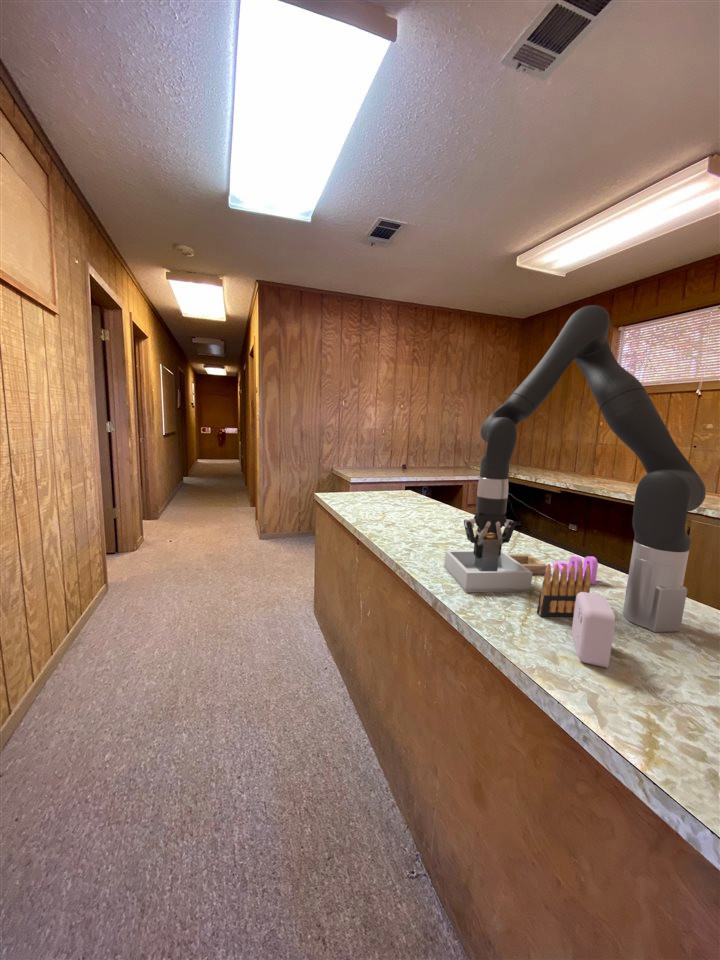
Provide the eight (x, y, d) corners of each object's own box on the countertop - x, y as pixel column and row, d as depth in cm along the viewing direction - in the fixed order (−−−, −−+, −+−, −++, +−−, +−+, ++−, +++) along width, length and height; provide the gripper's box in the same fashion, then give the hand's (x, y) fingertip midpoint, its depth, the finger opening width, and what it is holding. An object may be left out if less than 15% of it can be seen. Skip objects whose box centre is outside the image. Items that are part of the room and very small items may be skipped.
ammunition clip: (583, 614, 85) (590, 563, 83) (588, 618, 83) (595, 566, 81) (536, 613, 84) (542, 562, 82) (540, 617, 82) (547, 565, 81)
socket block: (546, 574, 107) (547, 565, 106) (516, 574, 106) (517, 565, 105) (529, 562, 116) (530, 554, 115) (501, 562, 115) (501, 554, 114)
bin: (530, 591, 95) (532, 572, 94) (465, 592, 93) (467, 573, 93) (500, 566, 111) (501, 550, 110) (444, 567, 109) (445, 550, 108)
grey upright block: (489, 565, 104) (492, 531, 103) (497, 572, 100) (500, 536, 98) (474, 565, 104) (477, 531, 102) (481, 572, 99) (484, 536, 98)
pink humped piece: (595, 584, 101) (598, 559, 100) (574, 583, 101) (578, 559, 100) (567, 565, 114) (570, 543, 113) (549, 565, 114) (551, 543, 113)
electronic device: (568, 635, 76) (574, 588, 74) (595, 640, 74) (602, 592, 73) (576, 664, 67) (584, 611, 65) (607, 671, 65) (615, 617, 63)
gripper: (511, 492, 103) (505, 552, 106) (460, 491, 101) (455, 552, 104) (525, 498, 96) (519, 562, 98) (471, 497, 94) (466, 562, 97)
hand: (486, 557), depth 101 cm, fingers closed on grey upright block, 4 cm apart
